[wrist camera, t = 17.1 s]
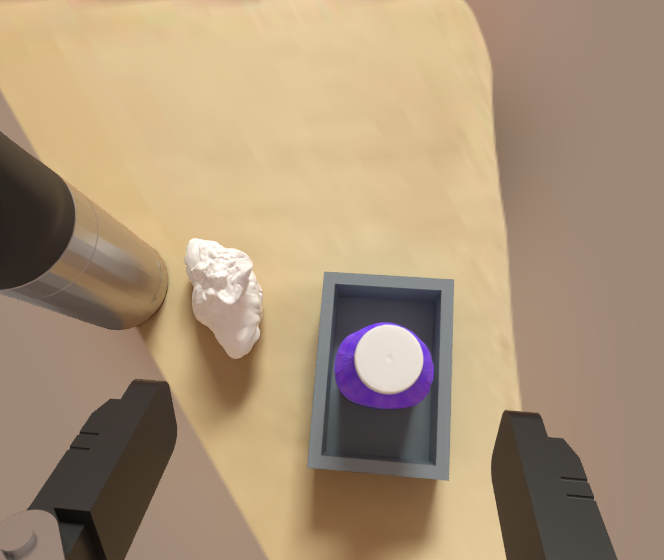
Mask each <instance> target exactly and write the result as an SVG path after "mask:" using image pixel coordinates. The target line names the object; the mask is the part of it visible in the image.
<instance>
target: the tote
mask: <svg viewBox="0 0 664 560" xmlns="http://www.w3.org/2000/svg"><path fill="white" fill-rule="evenodd" d="M453 298H454V280H452V279H436V278H420V277H403V276H387V275H371V274H354V273H338V272H324V280H323V291H322V303H321V315H320V326H319V338H318V349H317V361H316V372H315V384H314V396H313V407H312V419H311V430H310V442H309V454H308V465H307V468H316V469H327V470H338V471H349V472H360V473H371V474H382V475H392V476H403V477H414V478H425V479H436V480H447V481H449V456H450V416H451V377H452V337H453ZM381 322H386V323H394V324H397V325H400V326H402V327H405V328H406V329H408V330H410V331H412V332H413V333H414V334H416V335H417V337H418V338H419V339H420V340H421V341H422V342H424V343H425V345H426V346H427V348H428V350H429V351H430V354H431V358H432V362H433V365H434V374H433V382H432V383H431V386H430V391H429V393H428V394H427V396H426V397H425V398H424V399H423V400H422V401H421V402H420V403H418V404H417V405H415V406H411V407H407V408H399V409H374V408H368V407H363V406H360V405H357V404H354V403H352V402H350V401H349V400H348V399H346V398H345V396H344V395H343V394H342V393H341V392H340V390H339V388H338V386H337V384H336V380H335V372H334V366H335V356H336V354H337V351H338V348H339V346H340V344H341V343H342V341H343V340H344V339H345V338H346V337H347V336H349V335H350V334H352V333H354V332H357V331H359V330H361V329H363V328H365V327H367V326H370V325H373V324H376V323H381Z"/></svg>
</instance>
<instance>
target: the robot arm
mask: <svg viewBox="0 0 664 560" xmlns="http://www.w3.org/2000/svg"><path fill="white" fill-rule="evenodd" d="M167 287H168V274H167V268H166V266H165V263H164V261H163V259H162V258H161V256H160V255H159V254H158V252H157V251H155V250H154V249H153V248H152V247H151V246H149V245H148V244H147V243H146V242H144V241H143V240H142V239H140V238H139V237H138V236H137V235H135V234H134V233H133V232H132V231H130V230H129V229H128V228H126V227H125V226H124V225H123V224H121V223H120V222H119V221H117V220H116V219H115V218H114V217H112V216H111V215H110V214H108V213H107V212H106V211H104V210H103V209H102V208H101V207H99V206H98V205H97V204H95V203H94V202H93V201H92V200H90V199H89V198H88V197H86V196H85V195H84V194H82V193H81V192H80V191H78V190H77V189H76V188H74V187H73V186H72V185H71V184H69V183H68V182H67V181H65V180H64V179H63V178H61V177H60V176H59V175H58V174H56V173H55V172H54V171H52V170H51V169H50V168H48V167H47V166H46V165H44V164H43V163H41V162H40V161H39V160H37V159H36V158H35V157H33V156H32V155H30V154H29V153H27V152H26V151H25V150H24V149H22V148H21V147H20V146H18V145H17V144H16V143H14V142H13V141H12V140H10V139H9V138H8V137H7V136H5V135H4V134H3V133H2V132H0V294H1V295H5V296H8V297H11V298H14V299H17V300H21V301H24V302H27V303H30V304H33V305H36V306H39V307H42V308H45V309H48V310H51V311H54V312H58V313H61V314H63V315H67V316H70V317H73V318H76V319H79V320H82V321H84V322H88V323H91V324H94V325H97V326H100V327H104V328H107V329H112V330H123V329H129V328H132V327H135V326H138V325H140V324H141V323H143V322H145V321H146V320H148V319H149V318H150V317H151V316H152V315H153V314H154V313H155V312H156V311H157V309H158V308H159V307H160V305H161V303H162V301H163V299H164V297H165V295H166V291H167ZM176 438H177V424H176V418H175V413H174V408H173V403H172V398H171V392H170V387H169V384H168V383H167V382H166V381H155V380H143V379H135V380H133V381H132V382H131V384H130V385H129V387H128V388H127V390H126V392H125V393H124V395H123V396H122V398H121V400H120V399H109V400H108V401H107V402H106V403H105V404H103V405H102V406H101V407H99V408H98V409H97V410H96V411H94V412H93V413H92V414H91V416H90V417H89V419H88V420H87V422H86V423H85V425H84V426H83V427H82V429H81V431H80V434H79V435H77V436H76V438H75V439H74V441H73V442H72V444H71V445H70V449H69V450H67V452H66V453H65V455H64V456H63V457H62V459H61V460H60V462H59V463H58V465H57V466H56V468H55V470H54V471H53V472H52V474H51V475H50V477H49V479H48V480H47V481H46V483H45V484H44V486H43V487H42V489H41V490H40V492H39V493H38V495H37V496H36V498H35V499H34V501H33V502H32V504H31V505H30V506H29V508H28V509H27V510H26V511H23V512H20V513H17V514H14V515H12V516H10V517H8V518H7V519H5V520H3V521H2V522H0V560H124V559H125V557H126V555H127V552H128V550H129V548H130V546H131V544H132V541H133V539H134V537H135V534H136V532H137V530H138V528H139V526H140V523H141V521H142V519H143V517H144V515H145V512H146V510H147V508H148V506H149V504H150V501H151V499H152V497H153V495H154V493H155V490H156V488H157V486H158V484H159V481H160V479H161V477H162V475H163V473H164V470H165V468H166V466H167V464H168V461H169V459H170V457H171V455H172V453H173V450H174V446H175V442H176ZM491 475H492V484H493V489H494V494H495V500H496V505H497V510H498V516H499V521H500V526H501V532H502V537H503V542H504V547H505V553H506V558H507V560H617V557H616V554H615V552H614V549H613V546H612V544H611V541H610V538H609V536H608V533H607V530H606V528H605V525H604V522H603V520H602V517H601V514H600V512H599V509H598V506H597V503H596V501H594V495H593V493H592V490H591V488H590V485H589V483H587V477H586V474H585V471H584V469H583V466H582V463H581V461H580V458H579V457H578V456H577V454H576V453H575V452H574V451H573V450H572V449H571V447H570V446H569V445H568V444H567V443H566V441H565V440H564V439H563V438H551V437H548V436H547V433H546V430H545V427H544V424H543V420H542V418H541V416H540V414H539V413H532V412H520V411H508V410H505V411H504V412H503V415H502V418H501V422H500V426H499V430H498V434H497V438H496V442H495V446H494V450H493V454H492V462H491Z"/></svg>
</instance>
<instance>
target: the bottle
mask: <svg viewBox="0 0 664 560" xmlns="http://www.w3.org/2000/svg"><path fill="white" fill-rule="evenodd" d="M334 372H335V380H336V384H337V386H338V388H339V390H340V392H341V393H342V394H343V395H344V396H345V398H346V399H348V400H349V401H350V402H352V403H354V404H357V405H360V406H363V407H368V408H374V409H399V408H407V407H411V406H415V405H417V404H418V403H420V402H421V401H422V400H423V399H424V398H425V397H426V396H427V394H428V393H429V391H430V386H431V383H432V382H433V374H434V365H433V362H432V358H431V354H430V351H429V350H428V348H427V346H426V345H425V343H424V342H422V341H421V340H420V339H419V338H418V337H417V335H416V334H414V333H413V332H412V331H410V330H408V329H406V328H405V327H402V326H400V325H397V324H394V323H386V322H381V323H376V324H373V325H370V326H367V327H365V328H363V329H361V330H359V331H357V332H354V333H352V334H350V335H349V336H347V337H346V338H345V339H344V340H343V341H342V343H341V344H340V346H339V348H338V351H337V354H336V356H335V366H334Z"/></svg>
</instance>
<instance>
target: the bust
mask: <svg viewBox="0 0 664 560" xmlns="http://www.w3.org/2000/svg"><path fill="white" fill-rule="evenodd" d="M185 265H186V266H187V267H186V273H187V275H188V277H189V280H190V281H191V282H192V284H193V287H194V290H193V293H192V308H193V313H194V315H195V318H196V319H197V320H198V321H200V322H201V323H202V324H204V325H206V326H207V327H208V328H209V329H210V330H211V331H212V332H214V335H215V337H216V339H217V341H218V342H219V344H220V345H221V346H222V347H223V348H224V350H225V351H226V353H227V354H228V355H229V356H230V357H231V358H234V359H238V358H242V356H243V355H246V354H248V353H249V352H250V351H251V349H252V347H253V345H254V344H255V343H256V342H257V340H258V339H259V337H260V330H259V323H260V322H261V320H262V319H263V307H262V301H263V292H262V288H261V286H260V285H259V284H258V282H257V279H256V276H255V274H254V272H253V271H252V269H253V263H252V261H251V260H250V259H249V257H248V255H247V254H245V253H244V252H242V251H239V250H237V249H232V248H224V247H223V246H221V245H219V244H218V243H217V242H215V241H206V240H202V239H197V238H194V239H191V240H190V241H189V244H188V246H187V247H186V256H185Z"/></svg>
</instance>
